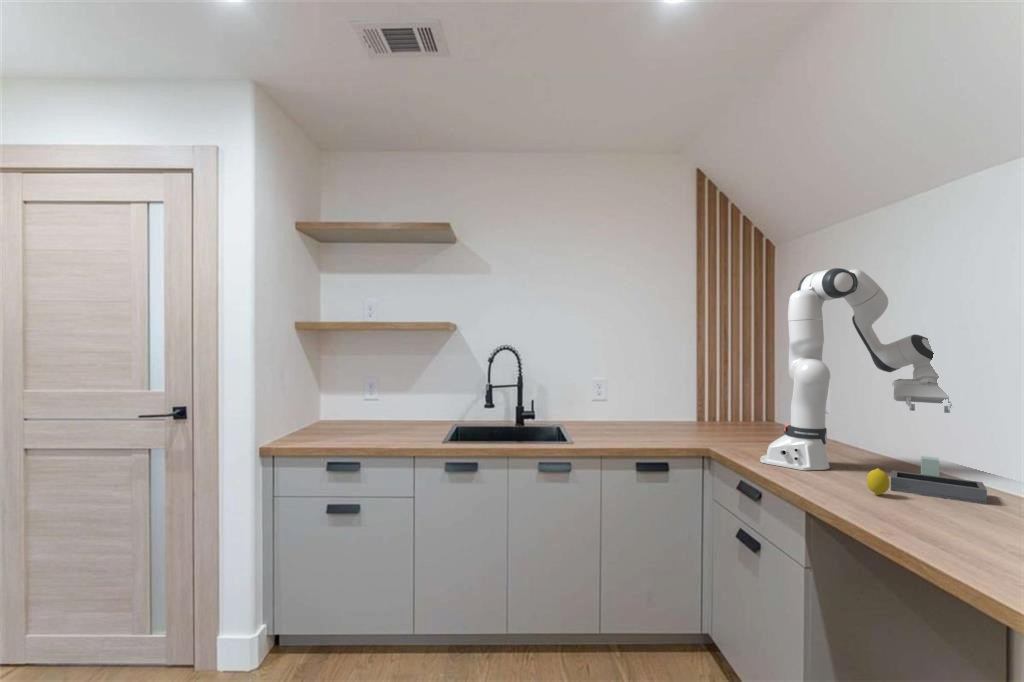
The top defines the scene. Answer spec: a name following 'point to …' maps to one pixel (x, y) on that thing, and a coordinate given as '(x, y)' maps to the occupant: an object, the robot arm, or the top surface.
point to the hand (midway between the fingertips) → (929, 410)
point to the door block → (930, 466)
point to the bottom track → (939, 487)
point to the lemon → (878, 481)
